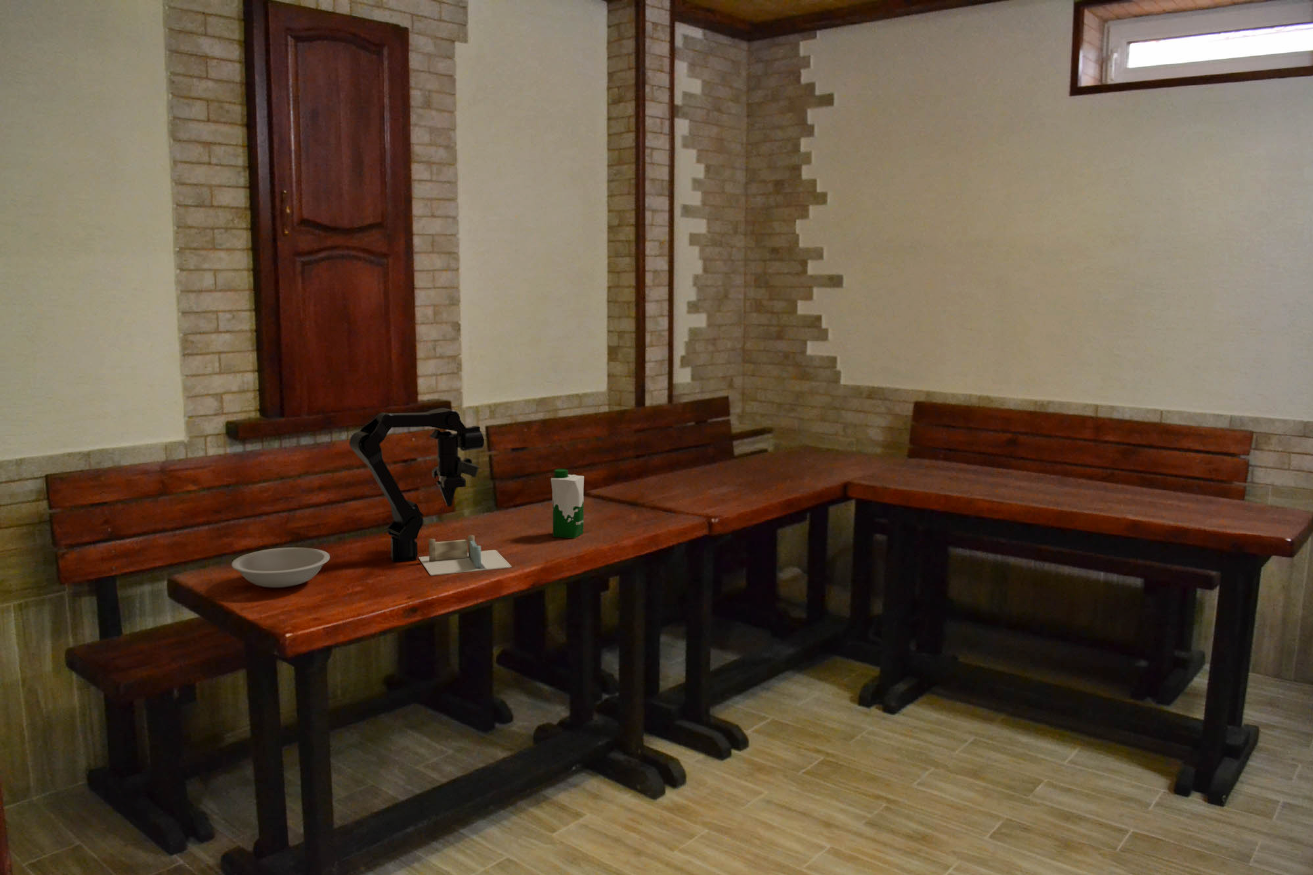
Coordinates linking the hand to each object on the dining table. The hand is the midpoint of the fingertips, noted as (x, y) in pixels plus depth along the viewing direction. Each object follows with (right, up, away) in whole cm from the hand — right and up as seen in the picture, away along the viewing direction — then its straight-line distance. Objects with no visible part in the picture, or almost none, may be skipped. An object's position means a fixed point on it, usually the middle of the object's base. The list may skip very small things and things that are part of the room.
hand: (449, 506), depth 319 cm
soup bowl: (-37, -18, -31) cm, 52 cm away
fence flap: (+9, -15, -12) cm, 21 cm away
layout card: (+6, -15, -11) cm, 19 cm away
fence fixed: (+2, -14, -8) cm, 16 cm away
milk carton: (+33, -10, +20) cm, 40 cm away
